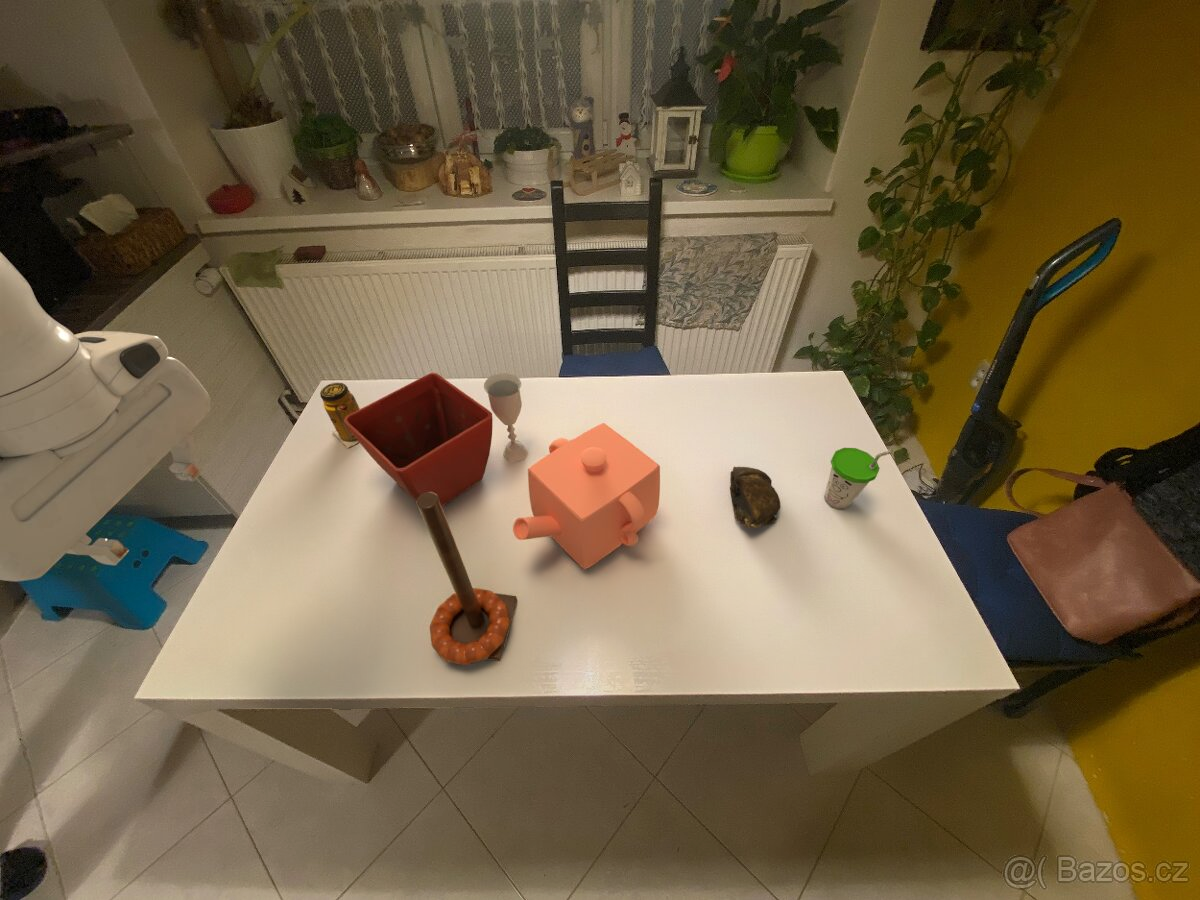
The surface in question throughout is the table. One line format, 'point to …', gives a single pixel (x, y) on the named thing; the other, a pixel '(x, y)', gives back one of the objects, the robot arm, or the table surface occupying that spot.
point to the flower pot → (427, 437)
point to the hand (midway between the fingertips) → (157, 513)
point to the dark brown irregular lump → (753, 497)
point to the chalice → (507, 409)
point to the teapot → (591, 494)
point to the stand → (460, 578)
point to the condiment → (340, 410)
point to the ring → (478, 648)
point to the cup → (850, 475)
